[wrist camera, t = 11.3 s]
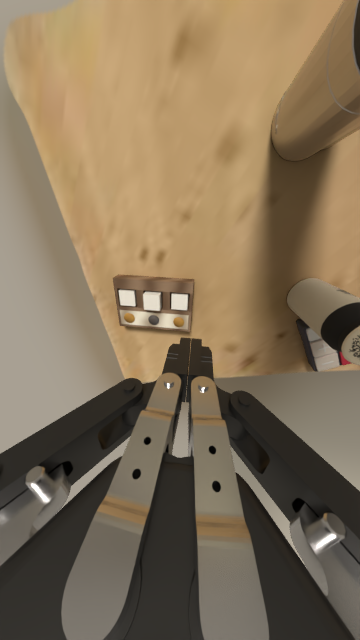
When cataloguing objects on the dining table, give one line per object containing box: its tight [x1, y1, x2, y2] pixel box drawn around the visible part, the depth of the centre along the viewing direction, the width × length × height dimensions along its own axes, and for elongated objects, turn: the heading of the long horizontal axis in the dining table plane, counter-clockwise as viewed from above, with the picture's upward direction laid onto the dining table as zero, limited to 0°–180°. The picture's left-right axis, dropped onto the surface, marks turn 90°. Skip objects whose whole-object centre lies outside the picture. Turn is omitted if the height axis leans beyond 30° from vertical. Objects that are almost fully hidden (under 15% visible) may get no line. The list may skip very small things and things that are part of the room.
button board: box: [113, 275, 194, 332], centre depth 42 cm, size 18×12×3 cm
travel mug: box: [287, 278, 360, 365], centre depth 31 cm, size 8×8×18 cm
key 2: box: [171, 292, 189, 310], centre depth 41 cm, size 4×4×2 cm
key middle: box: [143, 291, 162, 311], centre depth 40 cm, size 4×4×2 cm
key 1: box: [119, 289, 137, 306], centre depth 42 cm, size 4×4×2 cm
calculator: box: [296, 319, 350, 372], centre depth 42 cm, size 11×4×15 cm
